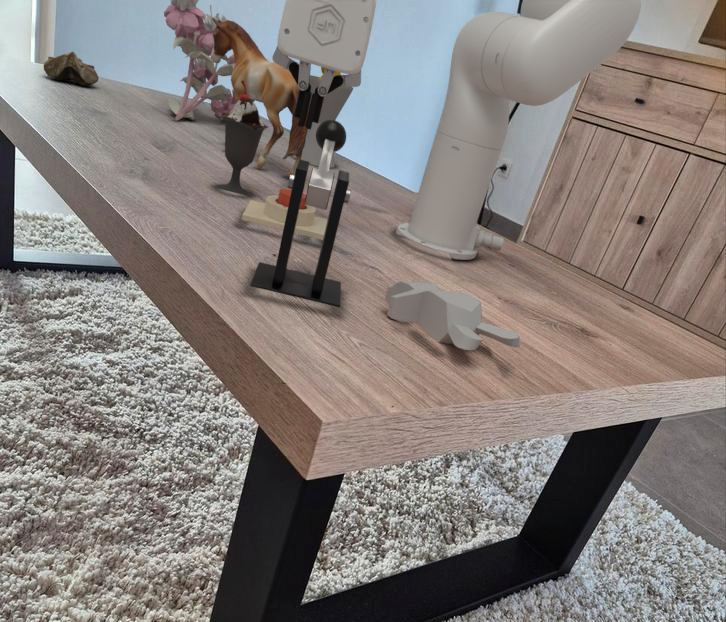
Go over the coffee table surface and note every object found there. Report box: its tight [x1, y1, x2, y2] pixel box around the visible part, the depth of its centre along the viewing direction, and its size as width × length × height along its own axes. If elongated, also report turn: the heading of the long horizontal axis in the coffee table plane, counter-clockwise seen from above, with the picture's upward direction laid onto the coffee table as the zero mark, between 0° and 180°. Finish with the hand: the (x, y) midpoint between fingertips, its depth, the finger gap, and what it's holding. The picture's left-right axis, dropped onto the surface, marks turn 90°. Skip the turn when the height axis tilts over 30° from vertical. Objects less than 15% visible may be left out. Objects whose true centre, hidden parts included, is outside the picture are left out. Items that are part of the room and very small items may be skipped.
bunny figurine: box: [384, 281, 521, 351], centre depth 68 cm, size 10×5×15 cm
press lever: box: [304, 120, 347, 211], centre depth 68 cm, size 12×3×3 cm, turn 0°
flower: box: [163, 0, 237, 122], centre depth 139 cm, size 20×22×25 cm
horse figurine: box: [210, 17, 310, 178], centre depth 116 cm, size 31×8×21 cm, turn 39°
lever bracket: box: [250, 160, 352, 308], centre depth 68 cm, size 7×9×13 cm
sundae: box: [215, 80, 270, 197], centre depth 96 cm, size 7×7×15 cm
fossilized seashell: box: [43, 50, 100, 87], centre depth 141 cm, size 8×7×10 cm
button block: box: [241, 194, 328, 241], centre depth 89 cm, size 11×8×4 cm
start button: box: [277, 188, 306, 210], centre depth 88 cm, size 4×4×2 cm
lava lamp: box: [291, 67, 354, 169], centre depth 128 cm, size 9×9×35 cm
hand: (304, 126), depth 83 cm, fingers closed
